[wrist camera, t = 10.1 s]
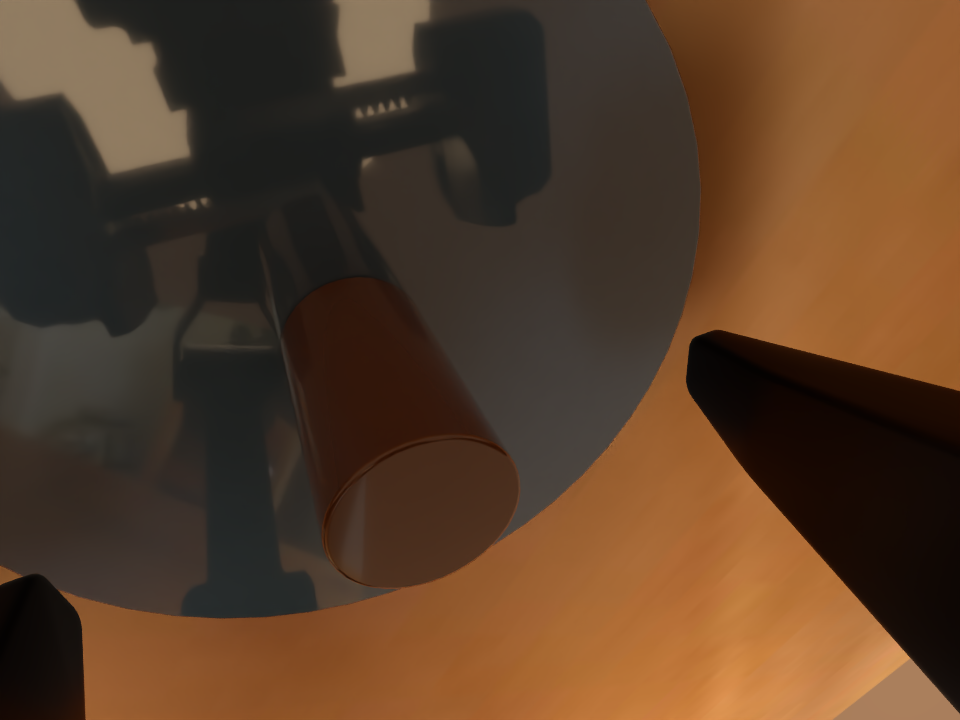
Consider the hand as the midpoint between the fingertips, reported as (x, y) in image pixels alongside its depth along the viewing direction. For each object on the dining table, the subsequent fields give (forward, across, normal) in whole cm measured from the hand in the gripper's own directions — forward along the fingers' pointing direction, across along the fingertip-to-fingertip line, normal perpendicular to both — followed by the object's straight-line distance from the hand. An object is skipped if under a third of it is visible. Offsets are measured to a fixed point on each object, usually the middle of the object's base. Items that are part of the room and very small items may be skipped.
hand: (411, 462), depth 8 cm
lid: (+4, 0, 0) cm, 4 cm away
